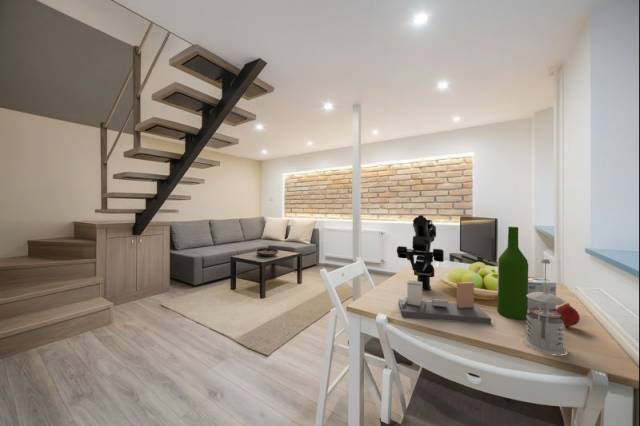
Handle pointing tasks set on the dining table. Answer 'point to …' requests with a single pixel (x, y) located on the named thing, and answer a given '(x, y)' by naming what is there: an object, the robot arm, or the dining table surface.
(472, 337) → the dining table surface
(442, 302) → the rocker switch
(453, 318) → the control console
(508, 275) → the wine bottle
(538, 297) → the french press
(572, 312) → the onion
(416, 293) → the slider button
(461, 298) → the tan rectangular board
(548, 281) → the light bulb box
